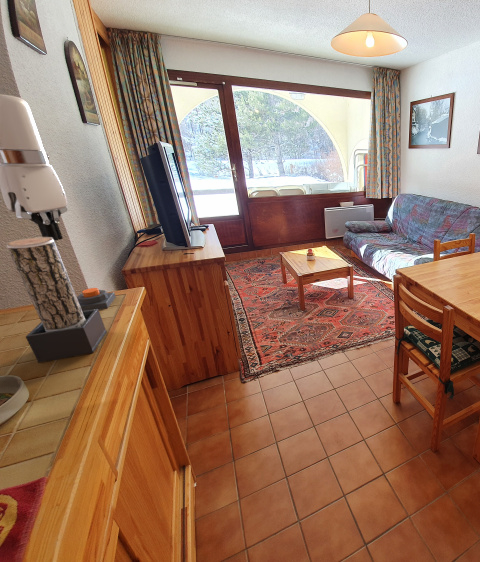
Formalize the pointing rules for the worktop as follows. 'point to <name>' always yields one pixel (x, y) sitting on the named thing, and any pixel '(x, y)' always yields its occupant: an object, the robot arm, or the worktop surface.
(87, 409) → the worktop surface
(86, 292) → the release button
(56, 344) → the dock
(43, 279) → the bark log cylinder
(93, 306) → the block
